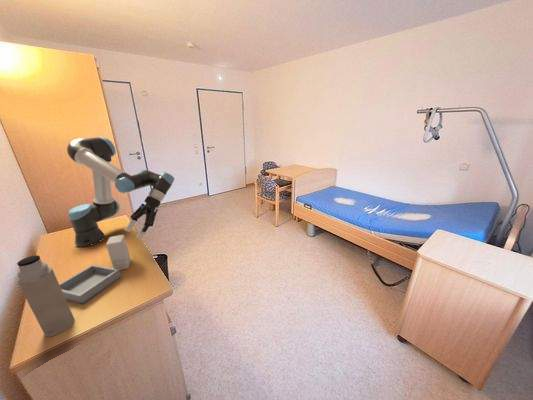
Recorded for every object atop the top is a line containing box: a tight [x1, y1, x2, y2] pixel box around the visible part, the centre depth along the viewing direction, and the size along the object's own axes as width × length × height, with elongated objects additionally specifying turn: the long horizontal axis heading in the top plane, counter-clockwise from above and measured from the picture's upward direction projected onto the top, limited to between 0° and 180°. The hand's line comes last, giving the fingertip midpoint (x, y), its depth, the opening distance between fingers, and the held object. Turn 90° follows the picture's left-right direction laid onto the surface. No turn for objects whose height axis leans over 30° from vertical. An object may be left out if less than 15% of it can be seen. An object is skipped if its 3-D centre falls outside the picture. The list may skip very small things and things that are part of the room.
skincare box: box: [105, 234, 132, 271], centre depth 107 cm, size 8×7×16 cm
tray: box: [59, 264, 122, 306], centre depth 95 cm, size 17×17×4 cm
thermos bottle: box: [16, 255, 75, 337], centre depth 71 cm, size 8×8×28 cm
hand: (132, 234), depth 110 cm, fingers open, 13 cm apart
